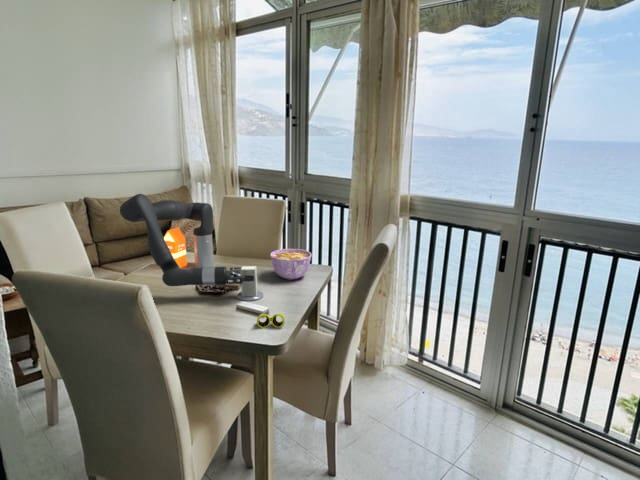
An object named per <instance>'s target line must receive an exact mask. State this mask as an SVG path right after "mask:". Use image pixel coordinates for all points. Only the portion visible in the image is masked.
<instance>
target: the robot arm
mask: <svg viewBox="0 0 640 480" xmlns="http://www.w3.org/2000/svg"><path fill="white" fill-rule="evenodd" d="M119 213H120V215H121V217H122V218H123V219H125V221H128V222H131V223H137V222H138V223H141V222H145V224H146V225H145V226H146V230H147V246H148V247H147V248H148V250H149V252H150V255H151V257H152V259H153V261H154V262H155V264H156V265H157V266H158V267H159V268H160V269H161V271H162V273H163V274H162V276H161V277H162V278H161V279H162V282H163V283H164V284H165V285H166V286H167V287H168V286H169V287H181V286H182V287H183V286H202V285H203V286H215V285H226V284H243V282H245V281H254V276H245V277H244V276H243V275H241V268H242V266H241V267H239V266H238V267H229V270H228V269H227V266H214V245H213V244H214V243H213V227H214V210H213V206H212V205H211V204H210V203H206V202H189V203H185V202H181V201H177V200H169V199H168V200H167V199H166V200H160V201H159V200H158V201H154V202H153V203H152V201H151V199H150V198H149V197H148V196H146V195H145V194H143V193H137V194H135V195H133V196H132V197H130V198H129V199H127V200H126V201H124V202H123V203H122V204H121V205H120V207H119ZM183 219H185V220H186V219H187V220H191V221H196V222H197V221H199V222H200V226H197V227H195V228H194V229H193V231H192V233H193V234H192V235H193V250H194V267H193V268H180V267H179V265H178V264H177V262H176V261H175V260H174V258H173V256H172V254H171V252H170V250H169V248H168V246H167V244H166V242H165V240H164V235H163V232H162V228H161V227H160V222H159V221H166V222H170V221H171V222H172V221H180V220H183ZM227 281H228V283H227Z"/></svg>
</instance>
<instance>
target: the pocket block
mask: <svg viewBox="0 0 640 480" xmlns="http://www.w3.org/2000/svg"><path fill="white" fill-rule="evenodd" d="M218 286H225V287H229V288H231V289H232V290H231V291H233V290H234V291H239V290H241V289H242V286H241V284H228V283H226V285H218Z"/></svg>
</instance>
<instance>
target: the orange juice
mask: <svg viewBox="0 0 640 480" xmlns="http://www.w3.org/2000/svg"><path fill="white" fill-rule="evenodd" d="M163 237H164V240H165V242H166V244H167V246H168V248H169V250H170V252H171V254H172V256H173V258H174V260H175V261H176V262H177V264H178V265H179V267H180V268H181V269H183V267H186V266H188V264H187V262H188V260H187V247H186V237H185V235H184V234H183V233H182V231H181V229H180V228H179V227H175V228H172V229H169V230H167V231H166V233H165V235H163Z"/></svg>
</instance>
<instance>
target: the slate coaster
mask: <svg viewBox="0 0 640 480" xmlns="http://www.w3.org/2000/svg"><path fill="white" fill-rule="evenodd" d="M263 297H264V293H263V292H262V291H260V290H258V293H257V296H242V291H240V292H238V293H237V294H236V299H238V300H239V301H242V302H256V301H259V300H261V299H263Z"/></svg>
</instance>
